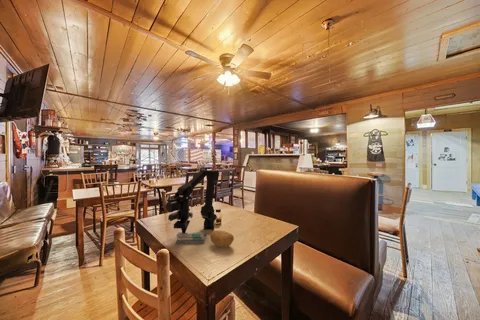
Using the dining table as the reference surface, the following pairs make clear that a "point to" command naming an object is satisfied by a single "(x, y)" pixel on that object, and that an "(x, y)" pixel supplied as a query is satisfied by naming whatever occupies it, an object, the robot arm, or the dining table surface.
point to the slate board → (191, 240)
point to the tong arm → (190, 234)
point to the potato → (221, 238)
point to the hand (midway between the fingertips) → (183, 234)
